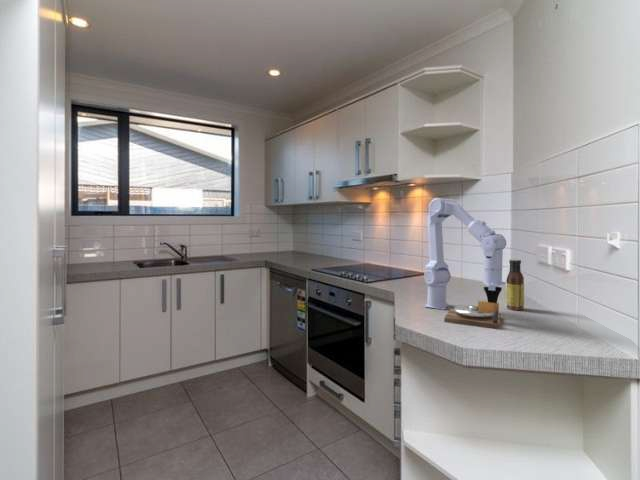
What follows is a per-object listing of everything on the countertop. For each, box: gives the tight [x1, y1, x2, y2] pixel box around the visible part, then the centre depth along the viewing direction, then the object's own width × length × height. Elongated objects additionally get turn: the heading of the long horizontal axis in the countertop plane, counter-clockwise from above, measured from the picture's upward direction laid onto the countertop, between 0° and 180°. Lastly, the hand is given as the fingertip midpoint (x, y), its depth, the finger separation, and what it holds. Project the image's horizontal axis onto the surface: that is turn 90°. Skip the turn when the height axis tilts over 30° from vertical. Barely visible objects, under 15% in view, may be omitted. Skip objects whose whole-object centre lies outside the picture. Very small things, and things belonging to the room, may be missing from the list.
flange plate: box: [453, 300, 500, 317], centre depth 125 cm, size 13×13×4 cm
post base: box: [443, 307, 502, 330], centre depth 125 cm, size 16×17×6 cm
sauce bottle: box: [505, 258, 525, 311], centre depth 140 cm, size 7×6×20 cm
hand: (492, 307), depth 123 cm, fingers closed, pressing on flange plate
